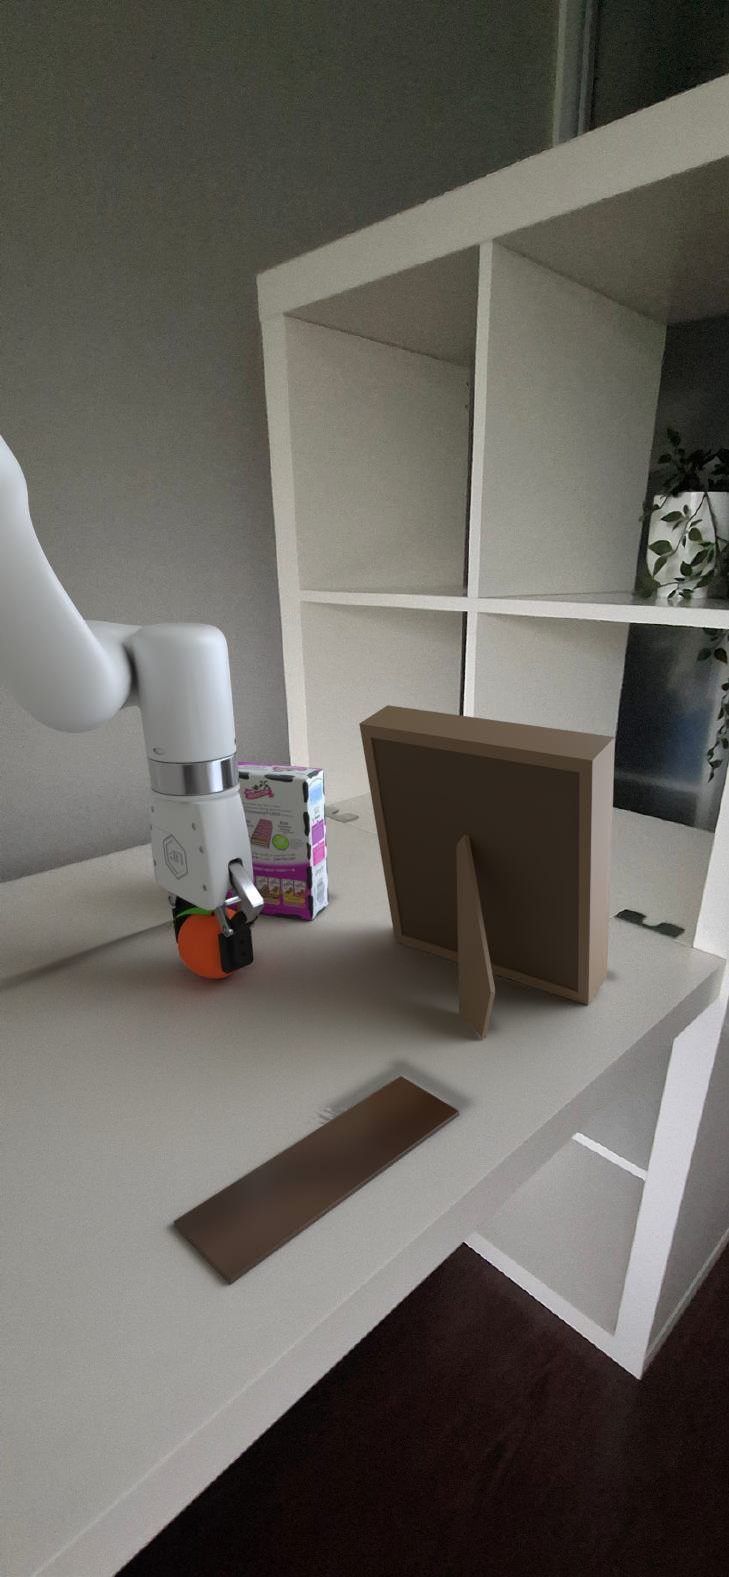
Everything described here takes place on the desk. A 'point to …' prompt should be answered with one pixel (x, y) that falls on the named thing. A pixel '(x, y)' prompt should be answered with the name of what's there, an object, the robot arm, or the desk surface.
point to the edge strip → (311, 1177)
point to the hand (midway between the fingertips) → (214, 952)
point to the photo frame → (495, 848)
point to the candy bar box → (286, 837)
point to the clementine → (201, 942)
